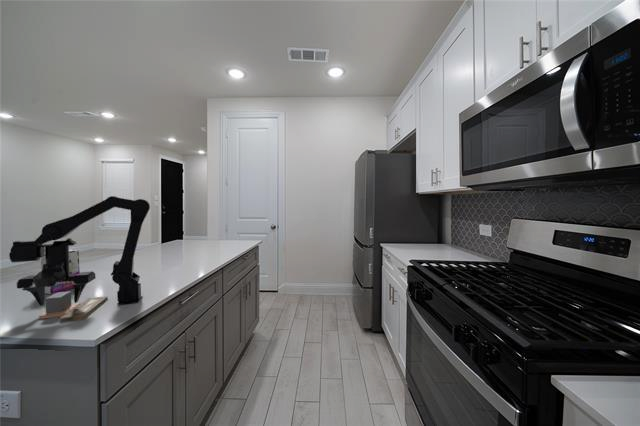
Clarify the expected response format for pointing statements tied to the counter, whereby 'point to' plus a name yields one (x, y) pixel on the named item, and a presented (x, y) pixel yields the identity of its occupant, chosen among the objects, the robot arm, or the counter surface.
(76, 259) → the candy bar box
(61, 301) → the stub
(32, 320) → the counter surface
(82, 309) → the board
